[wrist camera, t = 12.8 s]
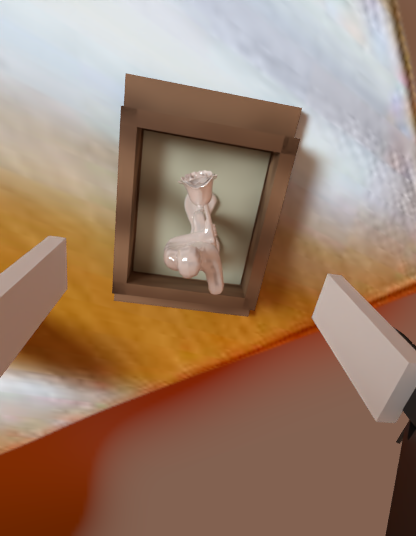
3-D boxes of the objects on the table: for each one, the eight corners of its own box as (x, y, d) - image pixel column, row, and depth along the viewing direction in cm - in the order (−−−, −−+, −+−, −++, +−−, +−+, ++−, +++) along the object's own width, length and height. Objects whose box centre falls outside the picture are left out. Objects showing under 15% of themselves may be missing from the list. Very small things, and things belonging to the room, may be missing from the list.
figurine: (186, 267, 30) (183, 347, 19) (155, 172, 26) (128, 204, 15) (234, 254, 30) (258, 328, 19) (209, 156, 26) (221, 177, 15)
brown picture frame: (128, 75, 24) (118, 67, 21) (298, 108, 26) (312, 106, 23) (116, 295, 32) (108, 314, 29) (246, 311, 34) (252, 330, 31)
